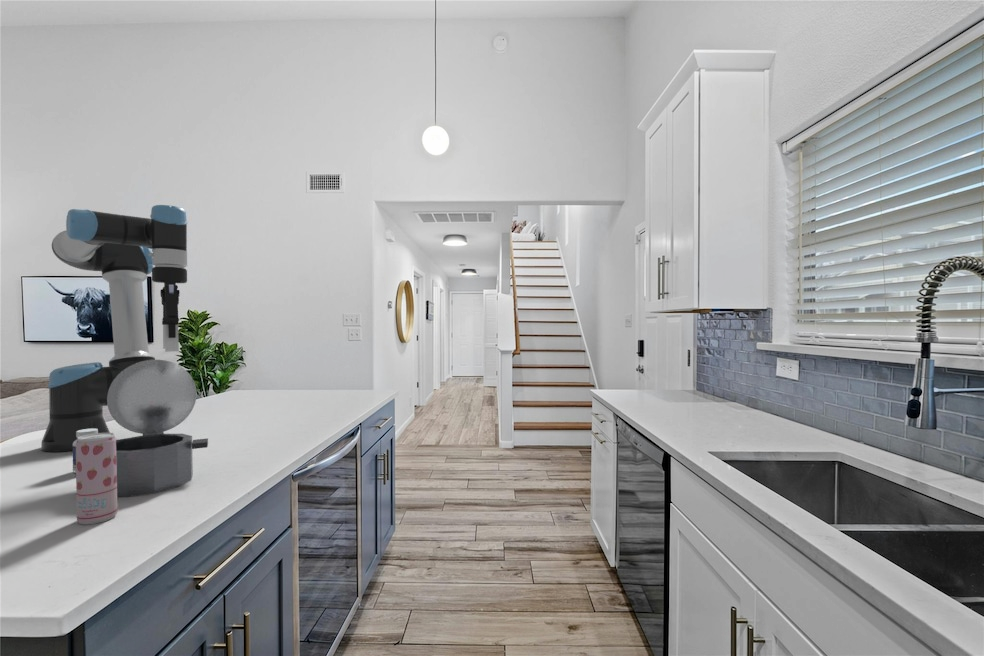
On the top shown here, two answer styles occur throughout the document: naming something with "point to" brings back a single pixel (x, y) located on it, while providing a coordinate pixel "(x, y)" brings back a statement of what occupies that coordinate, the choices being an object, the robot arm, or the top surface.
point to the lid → (151, 397)
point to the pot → (154, 463)
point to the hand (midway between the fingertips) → (170, 350)
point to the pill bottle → (78, 434)
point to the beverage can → (96, 478)
